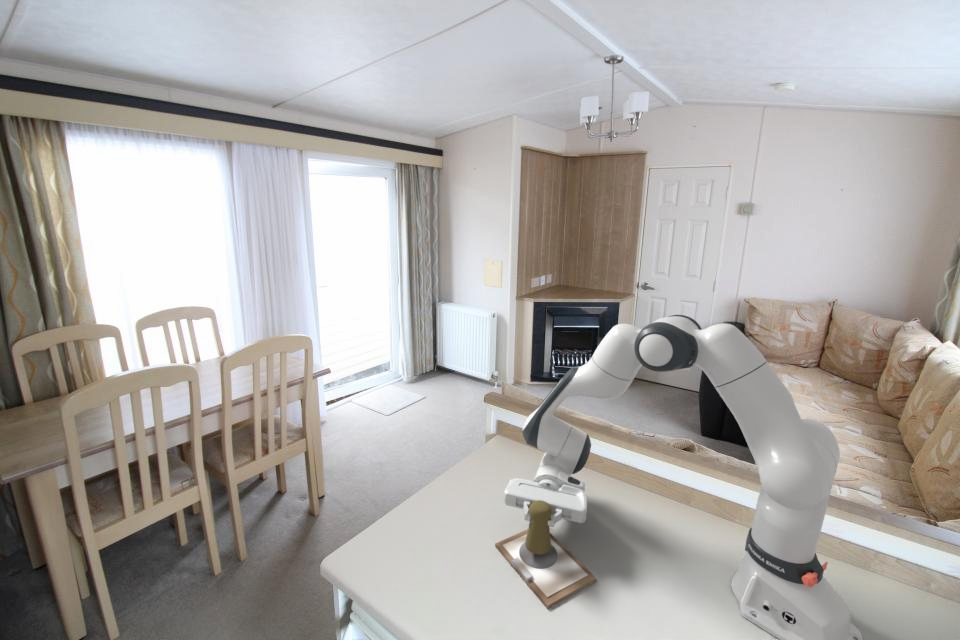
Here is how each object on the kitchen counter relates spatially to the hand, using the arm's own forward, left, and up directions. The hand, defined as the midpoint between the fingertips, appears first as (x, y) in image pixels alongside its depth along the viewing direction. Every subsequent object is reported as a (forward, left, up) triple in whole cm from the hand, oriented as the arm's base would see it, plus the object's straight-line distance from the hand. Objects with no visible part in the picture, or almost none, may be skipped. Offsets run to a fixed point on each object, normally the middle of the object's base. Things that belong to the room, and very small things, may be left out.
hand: (538, 521), depth 103 cm
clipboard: (-2, -1, -11) cm, 11 cm away
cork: (+1, -1, -7) cm, 7 cm away
